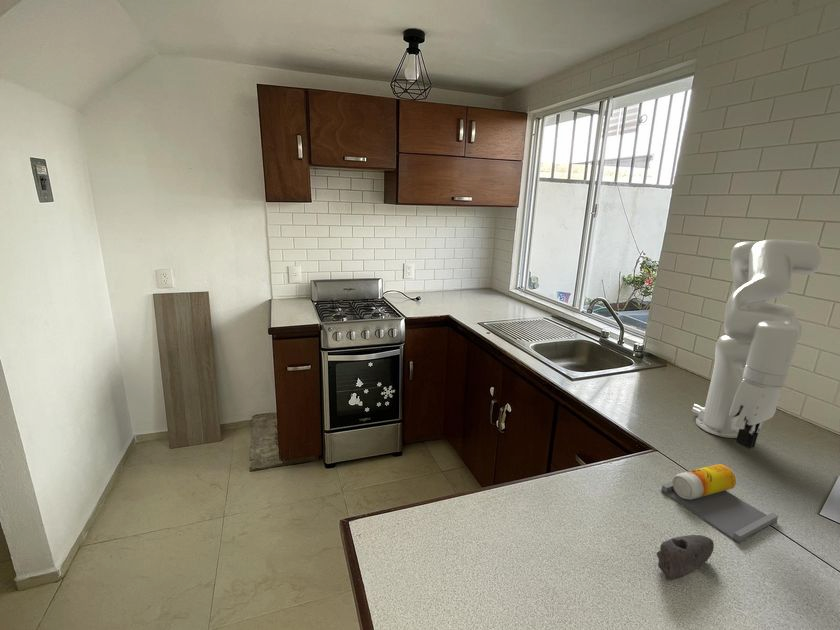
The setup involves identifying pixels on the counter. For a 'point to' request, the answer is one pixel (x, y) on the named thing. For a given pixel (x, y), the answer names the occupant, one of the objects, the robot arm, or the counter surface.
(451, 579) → the counter surface
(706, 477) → the beer can
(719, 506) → the stand
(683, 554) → the perforated stone tool
